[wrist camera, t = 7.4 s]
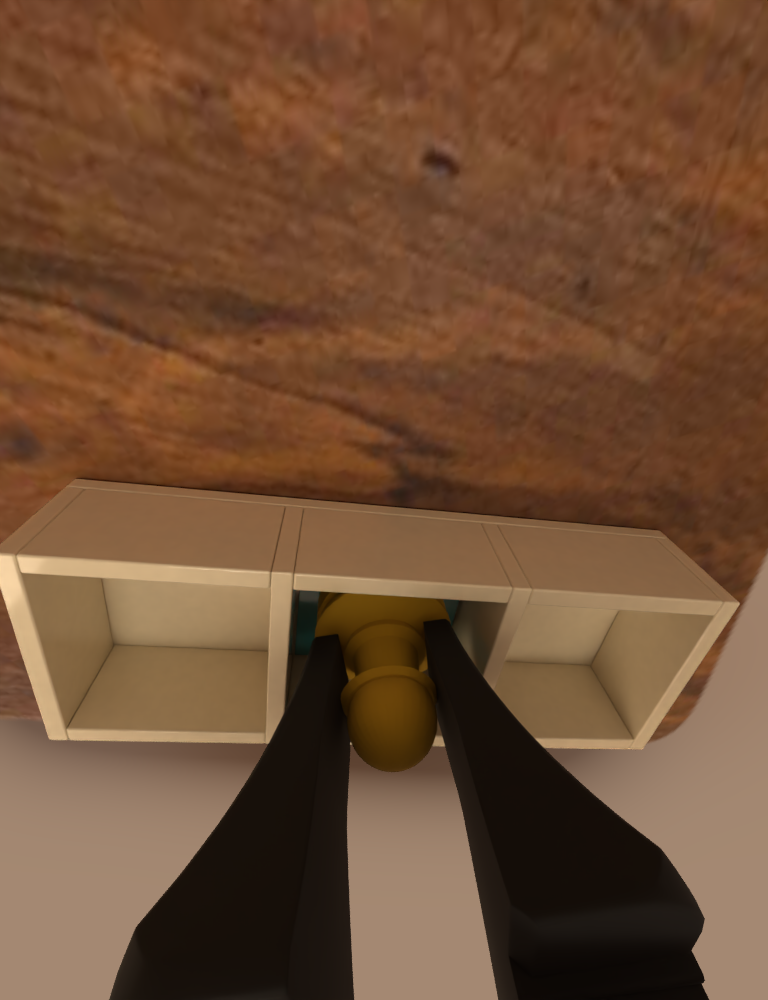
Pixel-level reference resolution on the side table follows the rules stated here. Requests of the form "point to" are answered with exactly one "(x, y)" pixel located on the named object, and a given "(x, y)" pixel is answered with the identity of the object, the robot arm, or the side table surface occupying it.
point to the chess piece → (385, 674)
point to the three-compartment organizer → (342, 569)
